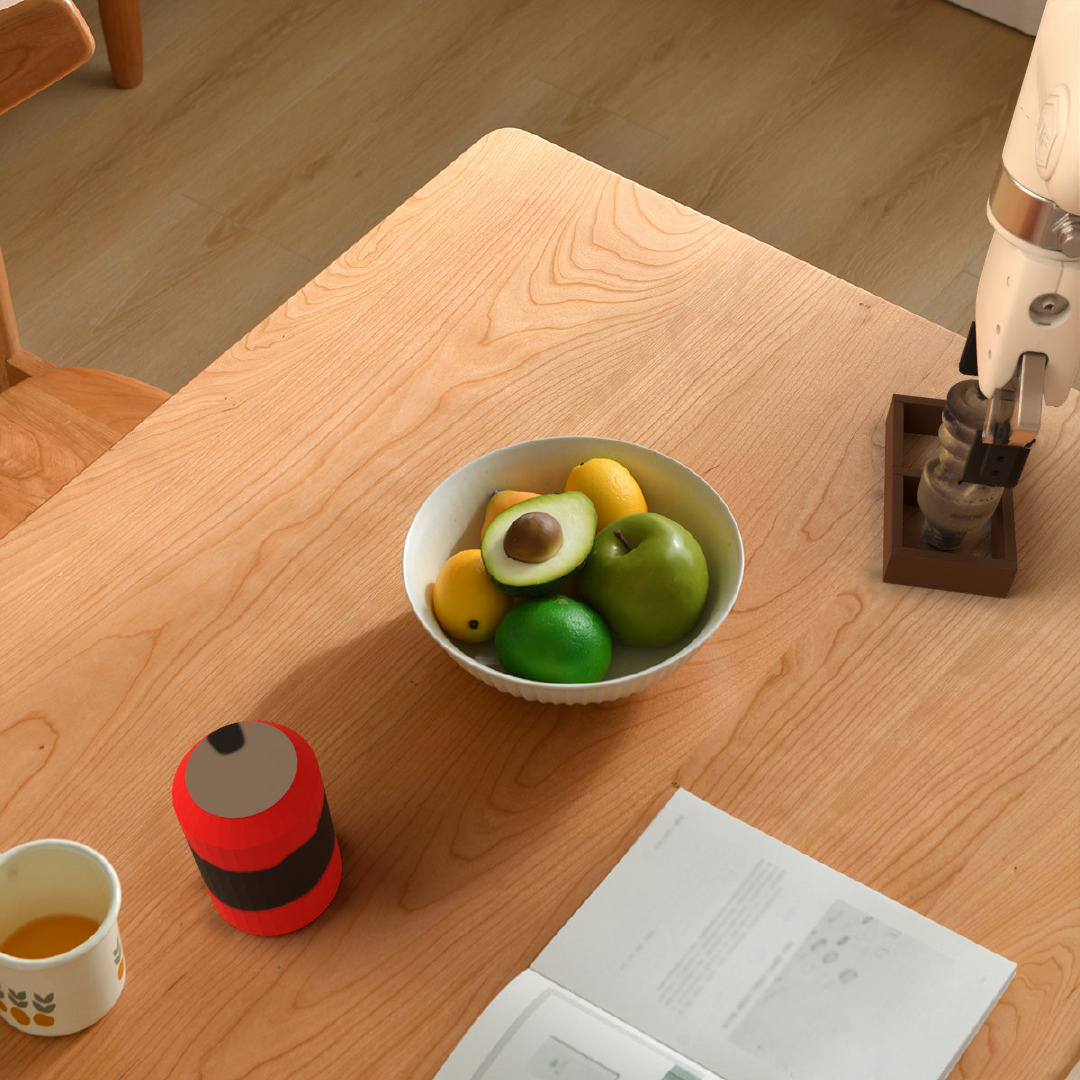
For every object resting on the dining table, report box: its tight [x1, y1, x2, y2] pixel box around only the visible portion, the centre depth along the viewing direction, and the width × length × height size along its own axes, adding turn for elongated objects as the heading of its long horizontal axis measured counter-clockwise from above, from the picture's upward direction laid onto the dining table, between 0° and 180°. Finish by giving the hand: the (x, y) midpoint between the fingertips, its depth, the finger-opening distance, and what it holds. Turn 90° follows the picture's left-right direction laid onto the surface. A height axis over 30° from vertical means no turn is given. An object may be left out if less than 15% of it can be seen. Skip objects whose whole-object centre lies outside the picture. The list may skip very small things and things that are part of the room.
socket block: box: [882, 393, 1019, 599], centre depth 95 cm, size 16×8×3 cm, turn 170°
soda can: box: [171, 719, 343, 937], centre depth 73 cm, size 8×8×12 cm
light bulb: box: [917, 377, 1017, 551], centre depth 88 cm, size 6×6×15 cm
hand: (985, 425), depth 85 cm, fingers open, 9 cm apart
